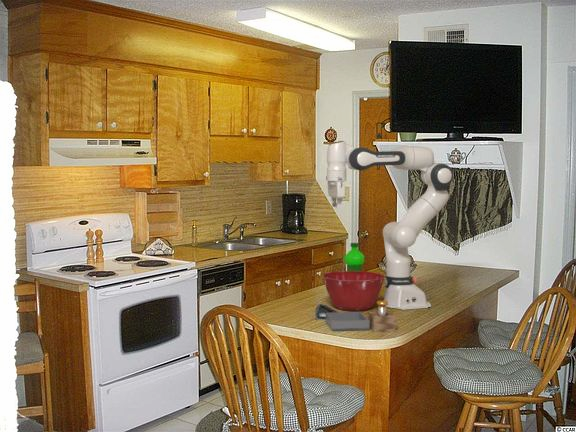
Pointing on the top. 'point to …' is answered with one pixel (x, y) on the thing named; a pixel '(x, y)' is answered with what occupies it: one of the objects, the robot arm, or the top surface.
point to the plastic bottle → (354, 258)
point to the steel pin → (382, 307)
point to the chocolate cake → (323, 311)
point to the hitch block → (382, 322)
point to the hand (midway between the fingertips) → (336, 207)
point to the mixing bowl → (353, 289)
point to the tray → (347, 321)
